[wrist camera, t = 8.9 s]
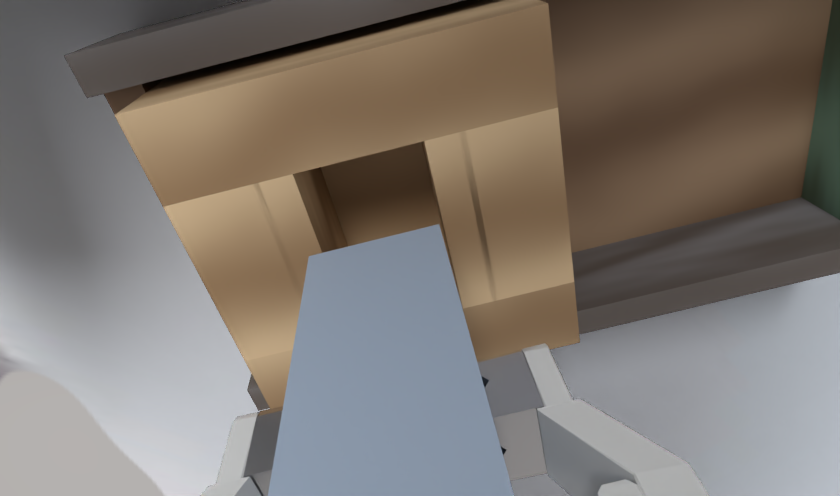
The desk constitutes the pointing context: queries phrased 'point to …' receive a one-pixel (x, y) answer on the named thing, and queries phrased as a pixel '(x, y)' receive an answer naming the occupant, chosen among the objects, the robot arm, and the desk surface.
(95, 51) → the bay
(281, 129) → the slotted wooden block
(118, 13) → the desk surface
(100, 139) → the desk surface
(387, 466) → the handle peg
